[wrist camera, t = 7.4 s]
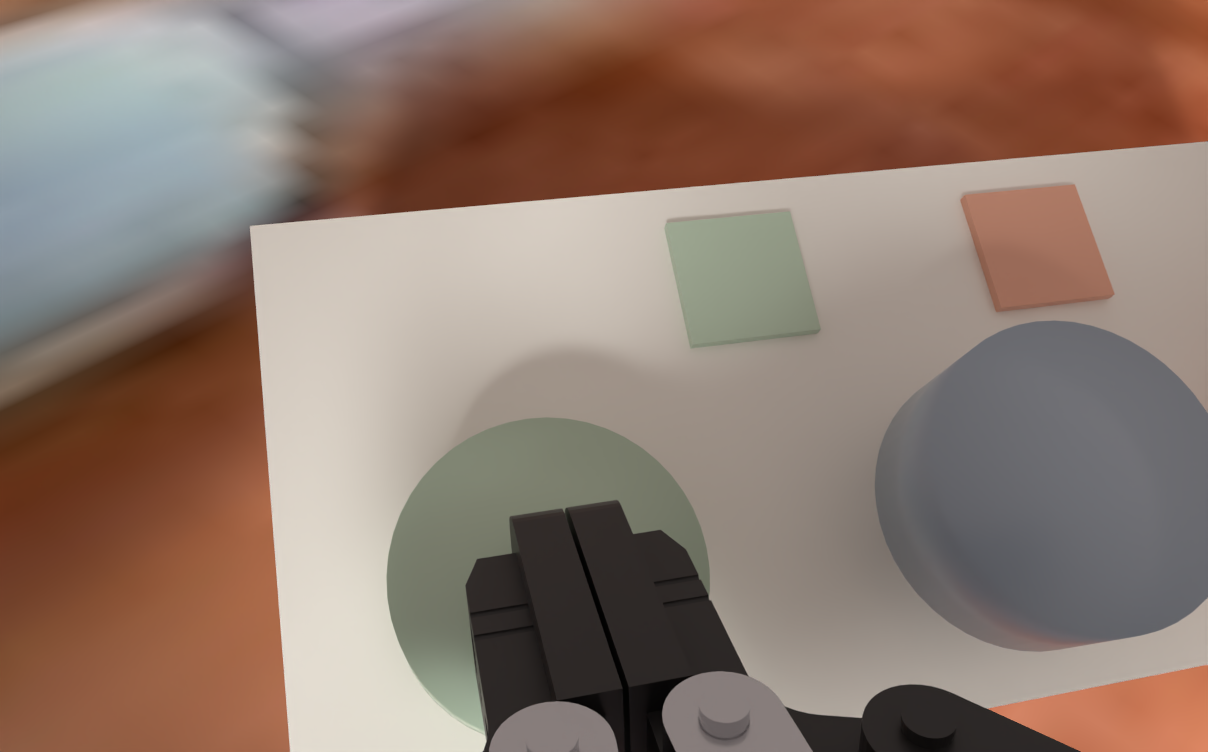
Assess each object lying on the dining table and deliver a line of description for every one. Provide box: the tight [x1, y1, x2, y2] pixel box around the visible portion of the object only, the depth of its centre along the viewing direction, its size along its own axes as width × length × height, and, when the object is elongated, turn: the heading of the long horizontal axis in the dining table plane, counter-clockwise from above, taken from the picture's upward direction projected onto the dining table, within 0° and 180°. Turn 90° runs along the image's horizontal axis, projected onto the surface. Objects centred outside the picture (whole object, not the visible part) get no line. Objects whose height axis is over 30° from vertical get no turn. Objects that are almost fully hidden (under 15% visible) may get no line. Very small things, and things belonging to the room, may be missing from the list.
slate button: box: [875, 320, 1208, 652], centre depth 16 cm, size 5×5×2 cm
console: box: [250, 141, 1208, 752], centre depth 22 cm, size 23×10×8 cm, turn 100°
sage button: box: [386, 417, 710, 735], centre depth 16 cm, size 5×5×2 cm
